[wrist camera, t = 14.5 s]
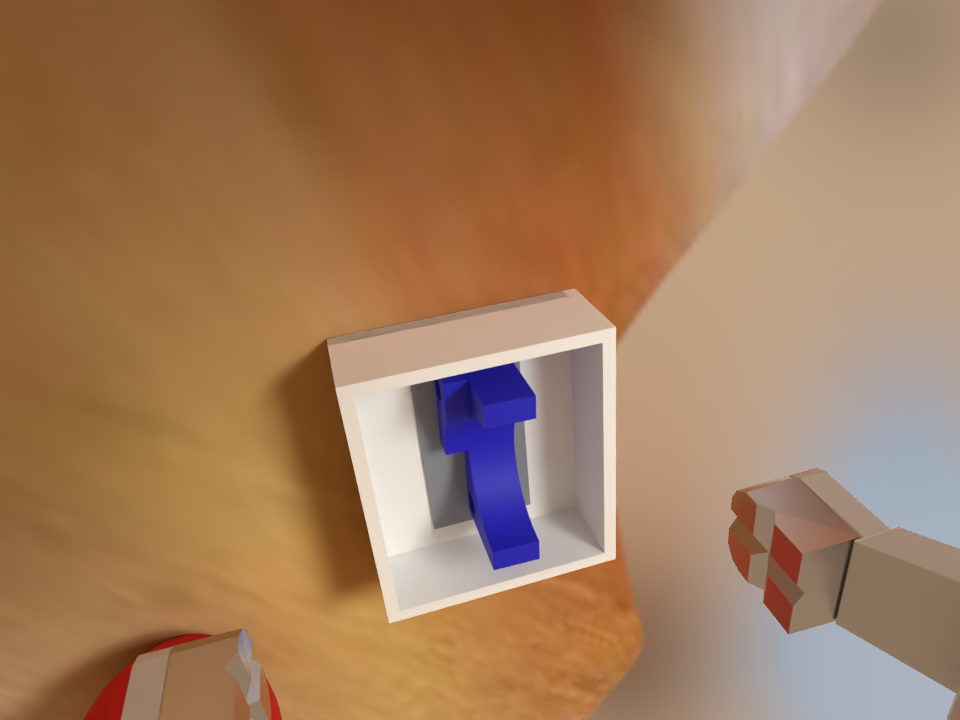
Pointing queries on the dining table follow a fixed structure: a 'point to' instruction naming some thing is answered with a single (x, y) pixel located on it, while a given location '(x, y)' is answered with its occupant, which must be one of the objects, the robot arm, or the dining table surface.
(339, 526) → the dining table surface
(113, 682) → the ceramic cup
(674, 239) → the dining table surface
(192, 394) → the dining table surface
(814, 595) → the robot arm
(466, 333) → the walled box
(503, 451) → the blue curved block
